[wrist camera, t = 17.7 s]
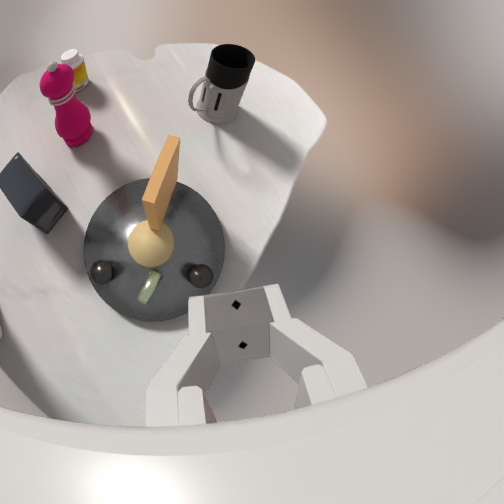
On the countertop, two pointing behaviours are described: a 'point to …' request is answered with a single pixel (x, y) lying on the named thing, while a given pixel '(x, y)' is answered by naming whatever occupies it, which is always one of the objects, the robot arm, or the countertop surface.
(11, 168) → the small box
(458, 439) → the robot arm
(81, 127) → the pepper mill
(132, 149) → the countertop surface
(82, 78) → the supplement bottle
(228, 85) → the glass holder
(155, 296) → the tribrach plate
